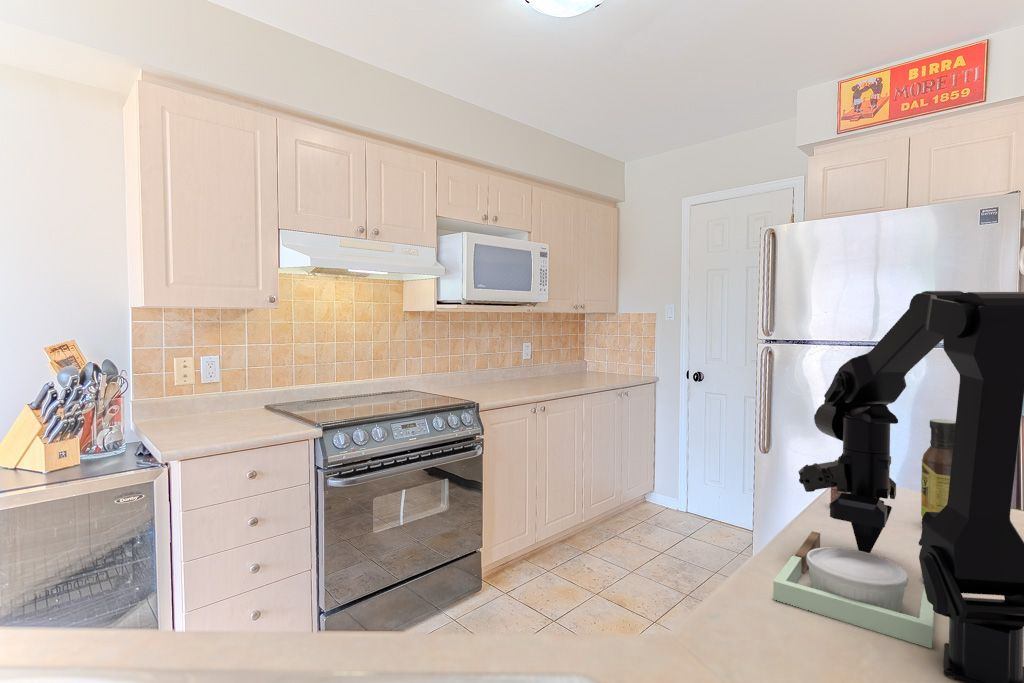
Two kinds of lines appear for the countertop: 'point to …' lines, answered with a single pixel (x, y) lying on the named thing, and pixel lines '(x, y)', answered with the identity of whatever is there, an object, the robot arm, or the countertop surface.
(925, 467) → the sauce bottle
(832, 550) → the ramekin
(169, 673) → the countertop surface
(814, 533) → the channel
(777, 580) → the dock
